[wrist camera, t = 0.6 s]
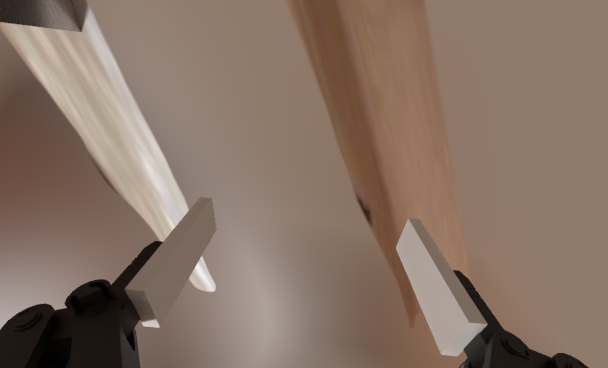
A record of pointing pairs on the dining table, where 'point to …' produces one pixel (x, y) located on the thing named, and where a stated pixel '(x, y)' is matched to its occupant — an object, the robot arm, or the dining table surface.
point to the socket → (40, 13)
